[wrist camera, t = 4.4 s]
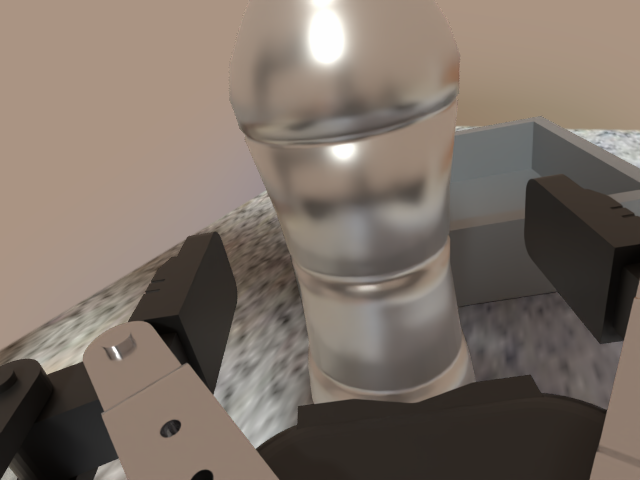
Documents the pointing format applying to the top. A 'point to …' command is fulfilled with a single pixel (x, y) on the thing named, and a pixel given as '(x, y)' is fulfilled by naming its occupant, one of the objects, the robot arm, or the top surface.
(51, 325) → the top surface
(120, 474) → the top surface
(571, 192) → the robot arm
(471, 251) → the bin
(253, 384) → the top surface
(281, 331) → the top surface
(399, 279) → the silver bottle
